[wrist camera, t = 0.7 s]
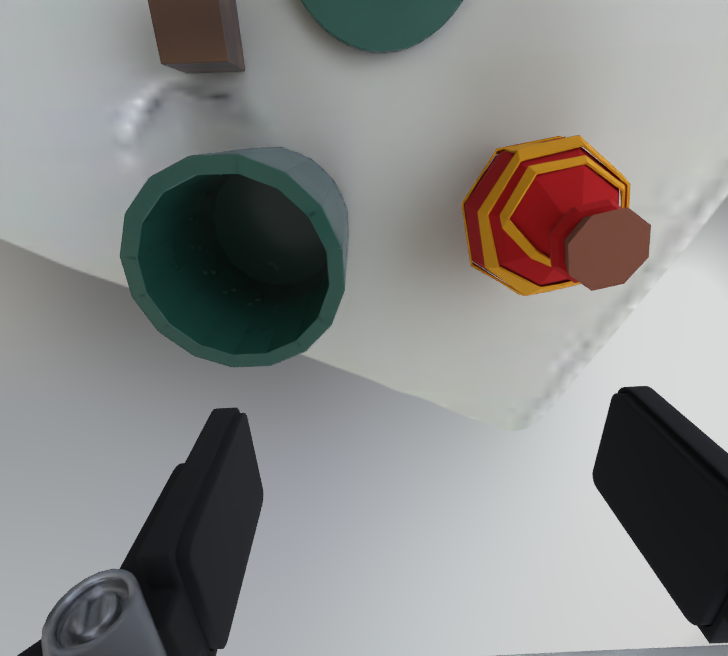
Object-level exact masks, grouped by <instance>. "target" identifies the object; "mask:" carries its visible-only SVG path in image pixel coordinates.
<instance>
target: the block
mask: <svg viewBox="0 0 728 656" xmlns="http://www.w3.org/2000/svg"><path fill="white" fill-rule="evenodd" d="M148 4H149V8H150V13H151V18H152V22H153V27H154V32H155V37H156V41H157V46H158V51H159V56H160V60H161V64H163V65H165V66H168V67H171V68H174V69H176V70H179V71H182V72H185V73H212V72H238V71H245V66H244V59H243V52H242V44H241V37H240V30H239V22H238V15H237V8H236V0H148Z"/></svg>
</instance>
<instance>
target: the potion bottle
mask: <svg viewBox="0 0 728 656" xmlns="http://www.w3.org/2000/svg"><path fill="white" fill-rule="evenodd" d="M582 147H584V148H585V149H586V150H588V151H589V152H590V153H591V154H592V155H593V156H594V157H596V158H597V159H598V160H599V161H600V162H599V161H598V160H597V159H596V158H594V157H593V156H592V155H591V154H589V153H588V152H587V151H586V150H584V149H583V148H582ZM495 154H498V155H497V156H495ZM494 156H495V158H494V159H493V157H494ZM492 159H493V161H492V162H491V160H492ZM490 162H491V164H490ZM602 163H603V164H604V165H605V166H604V165H603V164H602ZM489 164H490V165H489ZM488 165H489V167H488ZM487 167H488V168H487ZM486 168H487V169H486ZM609 169H610V170H609ZM485 170H486V171H485ZM483 173H484V174H483ZM481 176H482V177H481ZM619 189H620V195H621V207H620V206H619ZM629 200H630V183H629V182H628V181H627V180H626V178H625V177H624V176H623V175H622V174H621V173H620V172H619V171H618V170H617V169H616V168H615V167H614V166H613V165H611V164H610V163H609V162H608V161H607V160H606V159H605V158H604V157H603V156H602V155H600V154H599V153H598V152H597V151H596V150H595V149H594V148H593V147H592V146H591V145H589V144H588V143H587V142H586V141H585V140H584V139H583V138H582V137H581V136H580V135H577V136H572V137H567V138H566V137H561V136H557V137H552V138H547V139H542V140H537V141H532V142H527V143H522V144H517V145H512V146H507V147H502V148H498V149H496V150H495V152H494V154H493V155H492V157H491V158H490V160H489V162H488V163H487V165H486V166H485V168H484V169H483V171H482V172H481V174H480V176H479V177H478V179H477V180H476V182H475V183H474V185H473V186H472V188H471V189H470V191H469V192H468V194H467V195H466V197H465V198H464V200H463V202H462V211H463V217H464V224H465V231H466V237H467V244H468V250H469V257H470V264H471V266H472V267H474V268H475V269H477V270H479V271H481V272H483V273H484V274H486V275H488V276H490V277H492V278H493V279H495V280H497V281H499V282H500V283H502V284H503V285H505V286H506V287H508V288H509V289H511V290H513V291H514V292H516V293H517V294H520V295H523V296H527V295H532V294H538V293H543V292H549V291H553V290H558V289H562V288H566V287H570V286H574V285H578V284H583V285H584V286H586V287H587V288H589V289H590V290H591V291H592V290H597V289H602V288H606V287H611V286H615V285H620V284H624V283H625V282H626V281H627V280H628V279H629V278H630V277H631V276H632V274H633V273H634V272H635V271H636V270H637V269H638V268H639V267H640V266H641V265H642V264H643V263H644V262H645V261H646V259H647V258H648V257H649V244H650V230H651V225H650V224H649V223H647V222H646V221H645V220H643V219H642V218H641V217H640V216H638V215H637V214H636V213H634V212H633V211H632V210H631V209H629ZM472 261H473V262H475V263H476V264H478V265H479V266H481V267H483V268H484V269H486V270H487V271H489V272H490V273H492V274H493V275H495V276H496V277H498V278H500V279H501V280H503V281H504V282H503V281H501V280H499V279H498V278H496V277H495V276H493V275H491V274H490V273H488V272H487V271H485V270H484V269H482V268H481V267H479V266H478V265H476V264H475V263H473V262H472ZM505 282H506V283H507V284H506V283H505ZM508 284H509V285H508Z"/></svg>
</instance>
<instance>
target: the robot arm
mask: <svg viewBox="0 0 728 656" xmlns="http://www.w3.org/2000/svg"><path fill="white" fill-rule="evenodd" d="M593 481H594V484H595V486H596V487H597V489H598V491H599V492H600V493H601V495H602V496H603V498H604V499H605V501H606V502H607V503H608V505H609V507H610V508H611V510H612V511H613V512H614V514H615V515H616V517H617V518H618V520H619V521H620V523H621V524H622V526H623V527H624V528H625V530H626V531H627V533H628V534H629V536H630V537H631V538H632V540H633V542H634V543H635V545H636V546H637V547H638V549H639V550H640V552H641V553H642V555H643V556H644V558H645V559H646V561H647V562H648V564H649V565H650V567H651V568H652V569H653V571H654V572H655V574H656V575H657V577H658V578H659V580H660V581H661V583H662V584H663V585H664V587H665V588H666V590H667V591H668V593H669V594H670V596H671V597H672V599H673V600H674V601H675V603H676V605H677V606H678V607H679V609H680V610H681V612H682V613H683V615H684V616H685V617H686V618H687V620H688V621H689V622H691V623H692V624H693V625H697V626H698V627H699V629H700V630H701V632H702V633H703V634H704V636H705V638H706V639H707V640H708V642H709V643H728V453H727V452H726V451H724V450H723V449H722V448H721V447H720V446H718V445H717V444H716V443H715V442H714V441H713V440H712V439H710V438H709V437H708V436H707V435H706V434H704V433H703V432H702V431H701V430H700V429H699V428H698V427H696V426H695V425H694V424H693V423H692V422H690V421H689V420H688V419H687V418H686V417H685V416H683V415H682V414H681V413H680V412H679V411H677V410H676V409H675V408H674V407H673V406H672V405H671V404H669V403H668V402H667V401H666V400H665V399H664V398H662V397H661V396H660V395H659V394H657V393H656V392H655V391H654V390H653V389H652V388H650V387H648V386H637V387H623V388H621V389H620V390H619V391H618V393H616V394H614V395H613V396H612V399H611V403H610V407H609V410H608V415H607V418H606V422H605V426H604V430H603V434H602V438H601V442H600V446H599V450H598V453H597V457H596V461H595V465H594V469H593ZM262 503H263V487H262V483H261V478H260V474H259V469H258V465H257V460H256V455H255V451H254V446H253V441H252V437H251V432H250V428H249V423H248V419H247V415H246V414H245V413H240V412H239V409H238V408H219V409H214V410H213V411H212V412H211V414H210V416H209V418H208V420H207V422H206V424H205V426H204V428H203V429H202V431H201V433H200V435H199V437H198V439H197V441H196V443H195V445H194V447H193V449H192V451H191V452H190V454H189V456H188V458H187V460H186V462H185V463H182V464H179V465H178V466H176V468H175V469H174V471H173V473H172V474H171V476H170V478H169V479H168V481H167V483H166V485H165V487H164V489H163V491H162V492H161V494H160V496H159V498H158V500H157V501H156V503H155V505H154V507H153V509H152V511H151V512H150V514H149V516H148V518H147V520H146V522H145V523H144V525H143V527H142V529H141V531H140V533H139V534H138V536H137V538H136V540H135V542H134V544H133V545H132V547H131V549H130V551H129V553H128V554H127V556H126V558H125V560H124V562H123V564H122V565H121V567H120V569H110V570H106V571H101V572H98V573H96V574H94V575H92V576H90V577H88V578H86V579H84V580H82V581H81V582H80V583H78V584H77V585H75V586H74V587H73V588H71V589H70V590H69V591H68V592H67V593H66V594H65V595H64V596H63V597H62V598H61V599H60V600H59V601H58V602H57V604H56V605H55V606H54V608H53V609H52V611H51V612H50V613H49V615H48V617H47V619H46V622H45V624H44V627H43V630H42V639H41V640H39V641H38V642H37V643H35V644H33V645H32V646H31V647H29V648H28V649H26V650H25V651H23V652H22V653H20V654H19V655H18V656H216V652H217V649H223V648H224V647H225V645H226V643H227V640H228V637H229V632H230V629H231V625H232V621H233V617H234V613H235V609H236V606H237V601H238V597H239V594H240V590H241V586H242V582H243V578H244V574H245V570H246V566H247V562H248V558H249V555H250V550H251V546H252V543H253V539H254V535H255V531H256V527H257V523H258V519H259V515H260V511H261V507H262ZM499 656H728V645H717V646H694V647H671V648H649V649H625V650H603V651H582V652H560V653H539V654H520V655H519V654H518V655H499Z"/></svg>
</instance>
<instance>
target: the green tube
mask: <svg viewBox="0 0 728 656" xmlns="http://www.w3.org/2000/svg"><path fill="white" fill-rule="evenodd" d="M348 239H349V234H348V214H347V207H346V205H345V203H344V201H343V198H342V195H341V193H340V191H339V189H338V188H337V186H336V183H335V182H334V180H333V179H332V178H331V177H330V176H329V175H328V174H327V173H326V172H325V171H324V170H323V169H322V168H321V167H320V166H319V165H317V164H316V163H315V162H314V161H313V160H312V159H311V158H308V157H305V156H303V155H301V154H299V153H297V152H294V151H291V150H288V149H285V148H283V147H267V148H249V149H240V150H232V151H224V152H216V153H208V154H199V155H191V156H188V157H186V158H184V159H182V160H180V161H179V162H177V163H175V164H173V165H171V166H169V167H167V168H165V169H164V170H162V171H160V172H158V173H156V174H154V175H152V176H151V177H150V178H148V180H147V181H146V183H145V184H144V186H143V187H142V189H141V190H140V192H139V193H138V195H137V196H136V198H135V199H134V201H133V202H132V204H131V205H130V207H129V208H128V210H127V211H126V214H125V217H124V225H123V234H122V242H121V250H120V259H121V262H122V265H123V268H124V272H125V275H126V278H127V282H128V285H129V288H130V292H131V295H132V297H133V299H134V300H135V301H136V303H137V304H138V305H139V307H140V308H141V310H142V311H143V312H144V313H145V315H146V316H147V317H148V319H149V320H150V321H151V323H152V324H153V325H154V327H155V328H156V329H157V331H159V332H160V333H161V334H163V335H164V336H165V337H167V338H168V339H170V340H171V341H173V342H174V343H176V344H177V345H179V346H180V347H182V348H183V349H184V350H186V351H187V352H189V353H190V354H192V355H194V356H196V357H199V358H203V359H206V360H209V361H213V362H216V363H219V364H223V365H226V366H229V367H251V366H252V367H253V366H271V365H274V364H276V363H279V362H281V361H284V360H286V359H289V358H291V357H293V356H296V355H298V354H300V353H303V352H305V351H307V350H308V349H309V348H310V346H311V345H312V344H313V343H314V342H315V341H316V340H317V339H318V338H319V337H320V336H321V335H322V334H323V333H324V332H325V331H326V330H327V329H328V328H329V327H330V326H331V325H332V323H333V320H334V317H335V315H336V312H337V309H338V307H339V304H340V301H341V299H342V296H343V293H344V291H345V280H346V266H347V252H348Z"/></svg>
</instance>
